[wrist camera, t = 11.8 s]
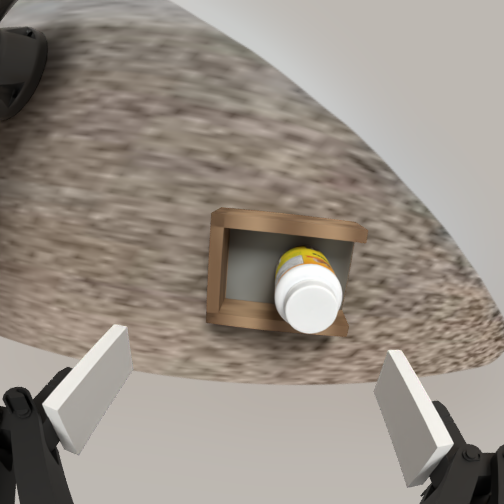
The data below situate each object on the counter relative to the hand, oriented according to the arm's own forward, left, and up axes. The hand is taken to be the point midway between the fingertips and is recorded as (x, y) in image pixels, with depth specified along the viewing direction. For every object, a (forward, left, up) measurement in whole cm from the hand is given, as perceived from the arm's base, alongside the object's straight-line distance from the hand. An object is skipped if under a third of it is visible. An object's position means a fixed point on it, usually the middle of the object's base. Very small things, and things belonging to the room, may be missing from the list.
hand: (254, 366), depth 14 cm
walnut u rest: (0, +2, -19) cm, 19 cm away
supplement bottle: (0, +4, -19) cm, 19 cm away
